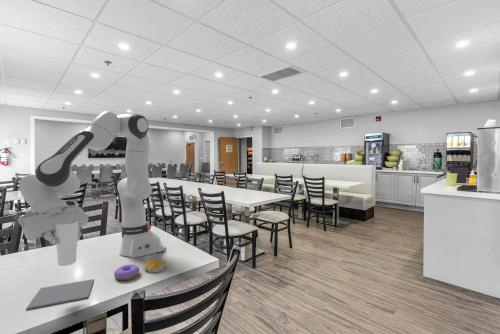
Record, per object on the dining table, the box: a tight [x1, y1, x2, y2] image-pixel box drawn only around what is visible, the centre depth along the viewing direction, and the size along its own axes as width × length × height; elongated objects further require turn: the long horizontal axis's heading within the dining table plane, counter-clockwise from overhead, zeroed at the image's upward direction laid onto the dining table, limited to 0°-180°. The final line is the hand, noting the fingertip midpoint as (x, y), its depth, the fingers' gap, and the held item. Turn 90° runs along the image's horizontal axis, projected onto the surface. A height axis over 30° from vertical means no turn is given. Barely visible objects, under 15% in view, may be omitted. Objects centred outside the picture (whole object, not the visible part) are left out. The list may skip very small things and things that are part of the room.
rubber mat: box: [25, 278, 95, 311], centre depth 91 cm, size 17×14×1 cm
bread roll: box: [144, 258, 166, 274], centre depth 112 cm, size 8×9×4 cm
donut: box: [113, 263, 140, 282], centre depth 105 cm, size 10×9×5 cm
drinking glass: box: [54, 220, 79, 267], centre depth 90 cm, size 7×7×15 cm
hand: (68, 239), depth 90 cm, fingers closed on drinking glass, 6 cm apart
